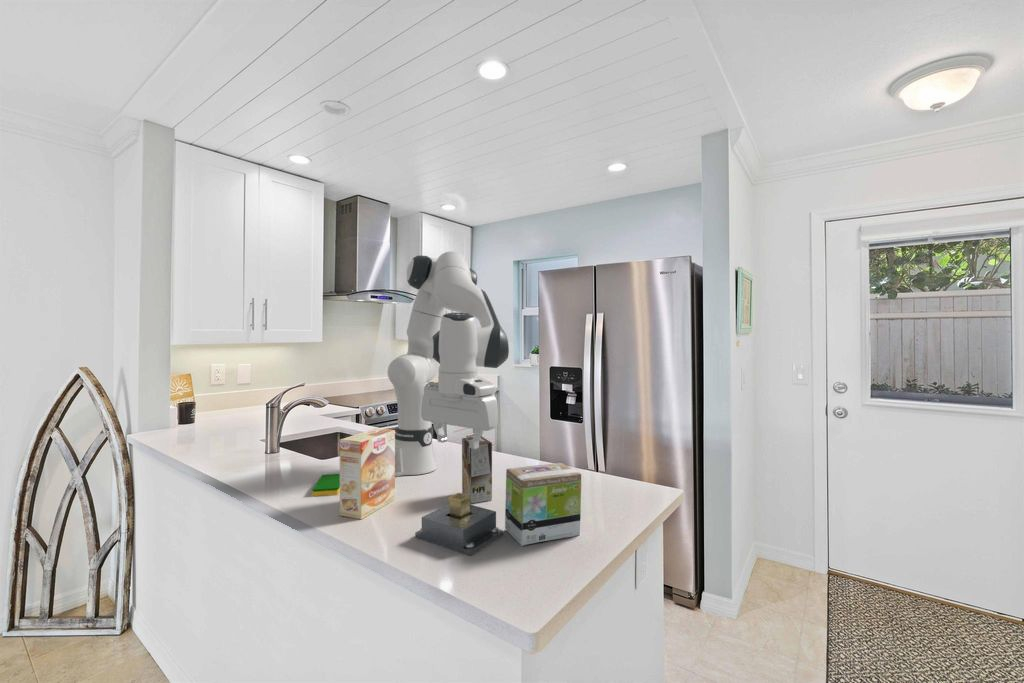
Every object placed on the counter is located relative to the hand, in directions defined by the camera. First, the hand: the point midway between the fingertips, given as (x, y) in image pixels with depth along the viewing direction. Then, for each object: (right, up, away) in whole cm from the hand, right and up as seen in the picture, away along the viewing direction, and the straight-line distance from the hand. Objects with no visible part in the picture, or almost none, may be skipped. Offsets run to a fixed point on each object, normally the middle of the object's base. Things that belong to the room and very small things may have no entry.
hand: (457, 444), depth 107 cm
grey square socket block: (0, -21, +1) cm, 21 cm away
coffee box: (+2, -20, +26) cm, 33 cm away
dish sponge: (-42, -21, +33) cm, 57 cm away
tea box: (+19, -21, +2) cm, 29 cm away
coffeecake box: (-26, -21, +18) cm, 37 cm away
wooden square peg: (0, -20, +1) cm, 20 cm away
